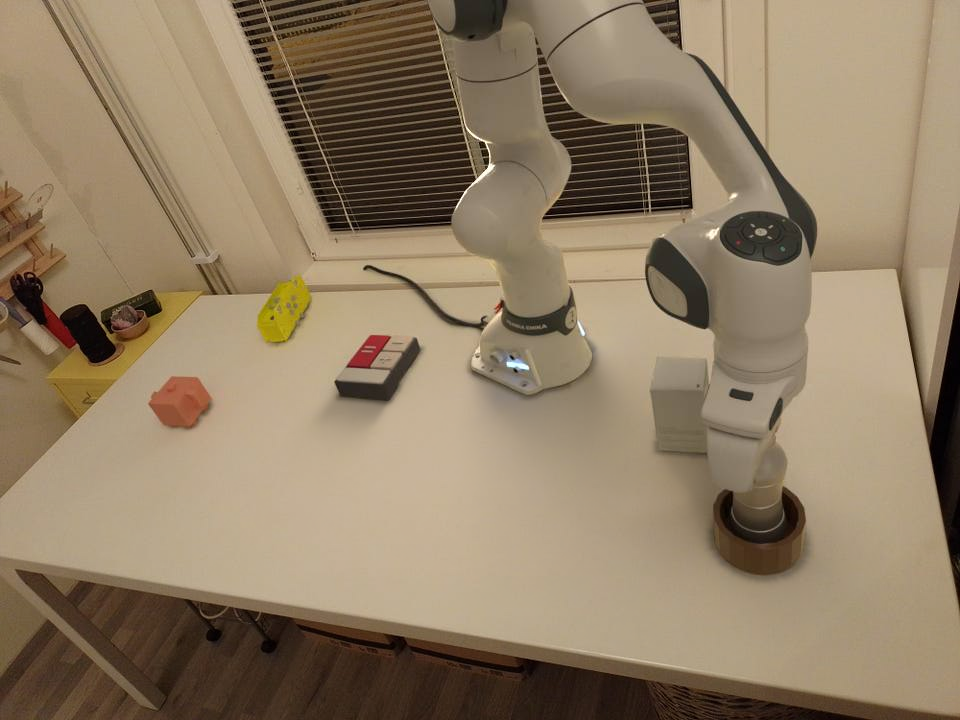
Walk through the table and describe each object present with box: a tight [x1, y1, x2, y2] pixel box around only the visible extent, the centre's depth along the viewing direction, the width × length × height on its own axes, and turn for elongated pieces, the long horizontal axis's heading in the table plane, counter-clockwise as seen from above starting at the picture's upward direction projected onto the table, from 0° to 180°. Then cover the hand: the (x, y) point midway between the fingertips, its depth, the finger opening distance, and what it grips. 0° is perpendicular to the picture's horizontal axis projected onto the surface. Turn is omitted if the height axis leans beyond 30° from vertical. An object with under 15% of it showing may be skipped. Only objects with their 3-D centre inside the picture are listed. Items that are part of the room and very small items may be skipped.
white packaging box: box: [649, 356, 710, 454], centre depth 103 cm, size 7×7×13 cm
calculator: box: [333, 334, 421, 401], centre depth 136 cm, size 11×4×15 cm
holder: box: [712, 485, 807, 576], centre depth 89 cm, size 11×11×6 cm
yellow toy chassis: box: [256, 275, 312, 344], centre depth 157 cm, size 16×6×8 cm, turn 169°
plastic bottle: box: [730, 432, 789, 544], centre depth 84 cm, size 6×7×20 cm
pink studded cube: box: [147, 375, 213, 428], centre depth 139 cm, size 8×12×8 cm, turn 72°
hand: (758, 455), depth 81 cm, fingers open, 8 cm apart
